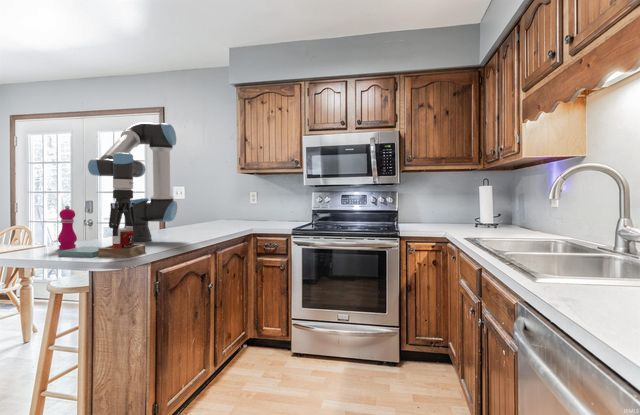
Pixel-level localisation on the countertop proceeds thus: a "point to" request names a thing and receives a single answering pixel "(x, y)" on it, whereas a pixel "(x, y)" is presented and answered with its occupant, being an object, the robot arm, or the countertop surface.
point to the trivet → (81, 252)
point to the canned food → (125, 238)
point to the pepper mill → (67, 229)
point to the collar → (121, 251)
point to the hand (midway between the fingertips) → (122, 242)
